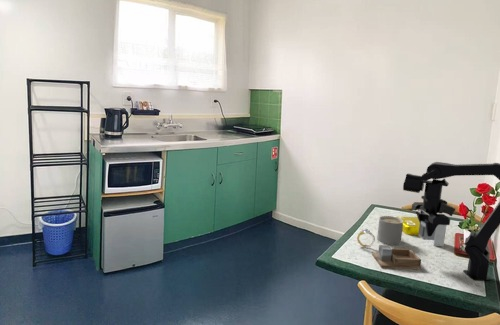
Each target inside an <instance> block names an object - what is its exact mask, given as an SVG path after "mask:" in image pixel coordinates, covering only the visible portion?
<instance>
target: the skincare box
mask: <svg viewBox="0 0 500 325" xmlns="http://www.w3.org/2000/svg"><path fill="white" fill-rule="evenodd" d="M447 226H448V225H438V226H437V227H436V231H435V237H434V240H429V241H430V243H431V244H432V245H433V247H434V246H435V247H443V248H444V245H445V238H446V230H447Z"/></svg>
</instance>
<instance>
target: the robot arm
mask: <svg viewBox="0 0 500 325" xmlns="http://www.w3.org/2000/svg"><path fill="white" fill-rule="evenodd" d="M455 176H494V177H496V179H498V180H499V181H500V163H499V162H493V163H467V164H466V163H465V164H454V163H448V162H442V161H434V162H432V163H431V164H429V166H428V167H427V168H426V172H425V173H423V174H422V175H417V174H412V173H407V174H405V178H404V181H403V185H402V189H403V191H405V192H412V193H417V194H419V193H420V192H423V190H424V193H423V195H421V199H422V201H423V202H421V201H420V202H418V201H416V202H415V201H414V202H413V203H412V205H411V209H412V210H413V211H416V212H415V214H416V217H418V219H419V222H420V224H421V221H425V223H426V229H427V234H428V236H432V234H433V232H434V231H435V229H436V227H437V226H438V225H447V226H450V225H451V218H449V216H451V217H452V216H453V215H454V213H455V211H456V209H457V208H455V207H454V206H451V205H450V204H448V201H446V200H444V199H443V198H442V191H443V187H448V186H449V182H448V181H447V180H446V178H451V177H455ZM431 179H432V180H431ZM443 213H444V214H443ZM445 214H447V215H449V216H447V215H445ZM484 221H485V222H484V223H483V224H482V226H481V227H480V228H479V230H476V232H474V231H473V230H471V231H470V233H469V236H467V237H465V241H464V245H465V246H464V251H465V254H466V255H467V256H469V257H468V258H469V259H468V264H467V269H463V271H462V272H463V273H465V275H467V276H468V277H469V278H470V279H471V280H474V281H491V280H492V279H491V278H490V277H489V276H488V274H489V273H488V272H489V267H490V259H491V258H490V257H491V256H490V254H491V253H490V252H489V250H488V249H487V246H488V243H489V241H490V239H491V237H492V236H493V234H494V233H495V231H496V230H497V229H498V227H499V226H500V201H498V203H497V205H496V206H495V207H494V209H493V210H492V212H490V214H489V216H488V218H487V219H486V220H484Z"/></svg>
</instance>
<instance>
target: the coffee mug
mask: <svg viewBox="0 0 500 325" xmlns="http://www.w3.org/2000/svg"><path fill="white" fill-rule="evenodd" d="M397 217H398V216H392V215H381V216H380V217H379V219H378V228H377V237H376V239H377V241H378V242H379V243H381V244H383V245H389V246H399V245H400V244H401V243H402V235H403V231H402V228H403V220H402V219H400V218H397Z"/></svg>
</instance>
